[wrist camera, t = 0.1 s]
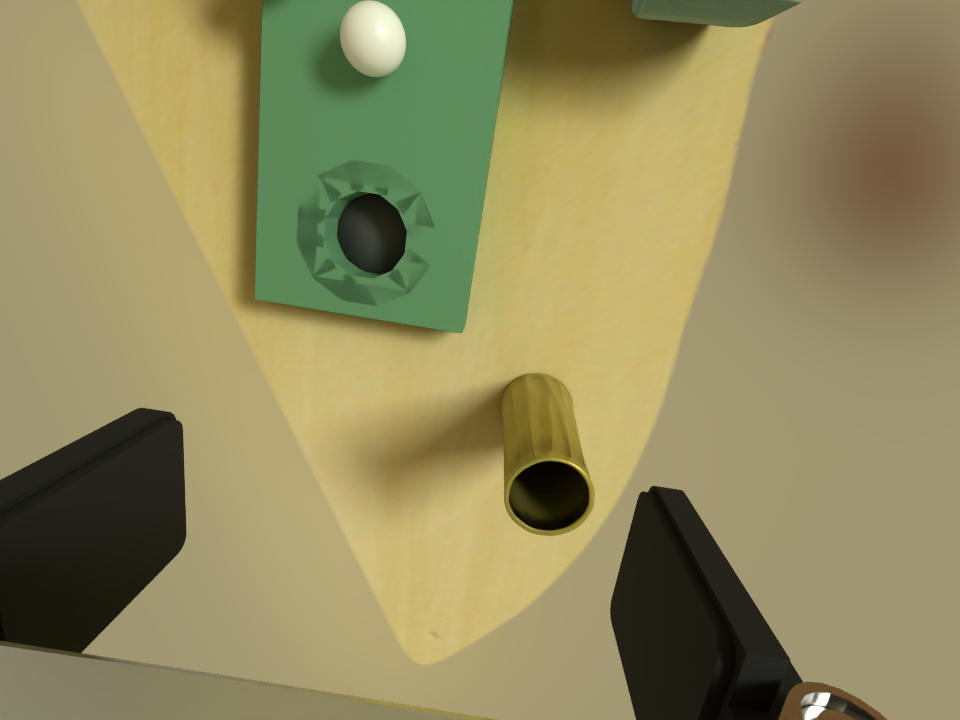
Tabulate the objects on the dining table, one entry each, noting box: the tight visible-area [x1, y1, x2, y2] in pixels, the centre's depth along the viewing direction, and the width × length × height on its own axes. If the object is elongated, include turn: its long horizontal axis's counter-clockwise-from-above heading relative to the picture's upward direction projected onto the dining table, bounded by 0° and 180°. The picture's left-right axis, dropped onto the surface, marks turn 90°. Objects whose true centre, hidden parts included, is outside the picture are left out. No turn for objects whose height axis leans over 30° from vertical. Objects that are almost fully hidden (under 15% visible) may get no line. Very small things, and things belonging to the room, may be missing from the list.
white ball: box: [340, 0, 406, 77], centre depth 31 cm, size 4×4×4 cm
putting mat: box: [255, 0, 514, 333], centre depth 36 cm, size 26×16×3 cm, turn 171°
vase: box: [500, 374, 595, 536], centre depth 36 cm, size 6×6×14 cm
